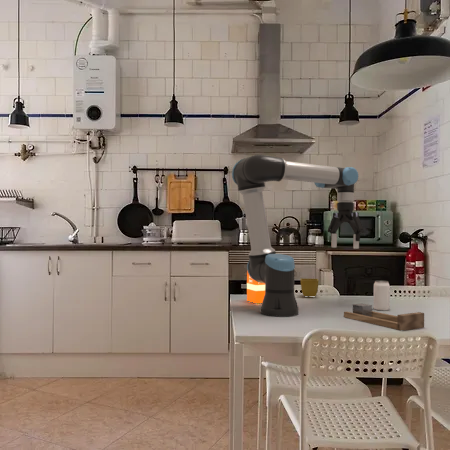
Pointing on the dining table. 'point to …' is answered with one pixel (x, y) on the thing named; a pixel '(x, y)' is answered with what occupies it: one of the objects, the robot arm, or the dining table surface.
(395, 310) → the dining table surface
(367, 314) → the block
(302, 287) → the flower pot
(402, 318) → the oak track
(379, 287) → the can
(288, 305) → the robot arm
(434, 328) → the dining table surface
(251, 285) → the orange juice
